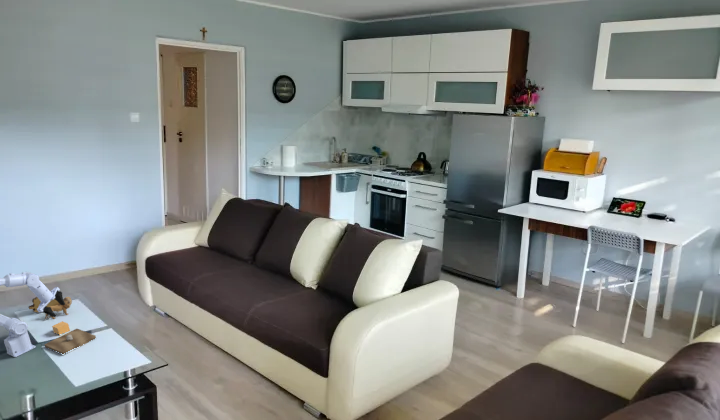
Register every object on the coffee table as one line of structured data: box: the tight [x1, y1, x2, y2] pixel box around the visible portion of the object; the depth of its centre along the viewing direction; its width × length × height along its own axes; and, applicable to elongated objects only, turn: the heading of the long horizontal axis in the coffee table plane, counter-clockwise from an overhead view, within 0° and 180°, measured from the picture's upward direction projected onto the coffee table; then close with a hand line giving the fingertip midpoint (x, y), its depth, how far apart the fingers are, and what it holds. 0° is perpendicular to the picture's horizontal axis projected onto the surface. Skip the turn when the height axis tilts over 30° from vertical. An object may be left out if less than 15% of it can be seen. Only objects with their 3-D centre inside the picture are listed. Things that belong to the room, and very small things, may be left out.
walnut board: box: [44, 328, 97, 354], centre depth 246 cm, size 16×16×4 cm
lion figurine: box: [43, 296, 73, 321], centre depth 273 cm, size 15×5×9 cm, turn 130°
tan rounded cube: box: [51, 321, 71, 336], centre depth 257 cm, size 5×5×4 cm
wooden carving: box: [27, 296, 59, 313], centre depth 281 cm, size 16×5×10 cm, turn 141°
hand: (59, 310), depth 255 cm, fingers open, 7 cm apart
